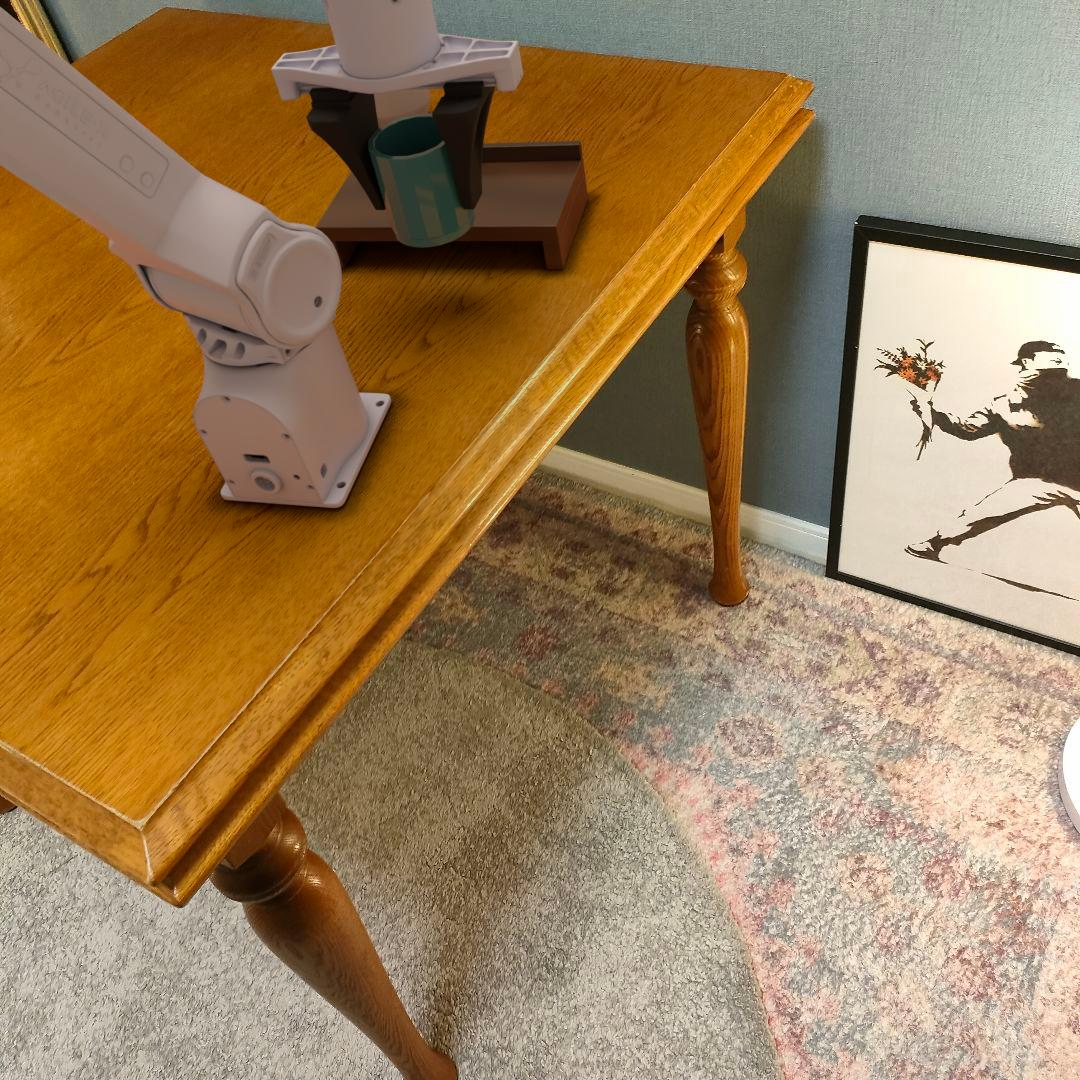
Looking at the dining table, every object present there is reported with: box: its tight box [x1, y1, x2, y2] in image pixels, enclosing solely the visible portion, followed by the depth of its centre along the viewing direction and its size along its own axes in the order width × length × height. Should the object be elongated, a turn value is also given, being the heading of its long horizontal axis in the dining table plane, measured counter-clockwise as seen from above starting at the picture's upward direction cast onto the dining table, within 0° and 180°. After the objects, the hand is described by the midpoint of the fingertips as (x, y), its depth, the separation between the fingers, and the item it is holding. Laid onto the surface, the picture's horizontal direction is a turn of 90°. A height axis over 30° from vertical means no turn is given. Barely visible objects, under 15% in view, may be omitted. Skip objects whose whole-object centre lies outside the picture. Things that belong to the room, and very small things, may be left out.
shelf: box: [315, 140, 589, 271], centre depth 73 cm, size 9×18×5 cm, turn 77°
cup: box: [368, 113, 475, 249], centre depth 62 cm, size 5×5×6 cm
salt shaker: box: [374, 89, 432, 128], centre depth 83 cm, size 6×6×13 cm
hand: (429, 201), depth 63 cm, fingers closed on cup, 5 cm apart
